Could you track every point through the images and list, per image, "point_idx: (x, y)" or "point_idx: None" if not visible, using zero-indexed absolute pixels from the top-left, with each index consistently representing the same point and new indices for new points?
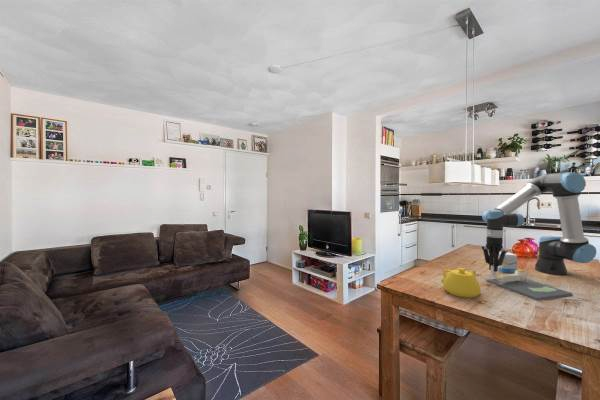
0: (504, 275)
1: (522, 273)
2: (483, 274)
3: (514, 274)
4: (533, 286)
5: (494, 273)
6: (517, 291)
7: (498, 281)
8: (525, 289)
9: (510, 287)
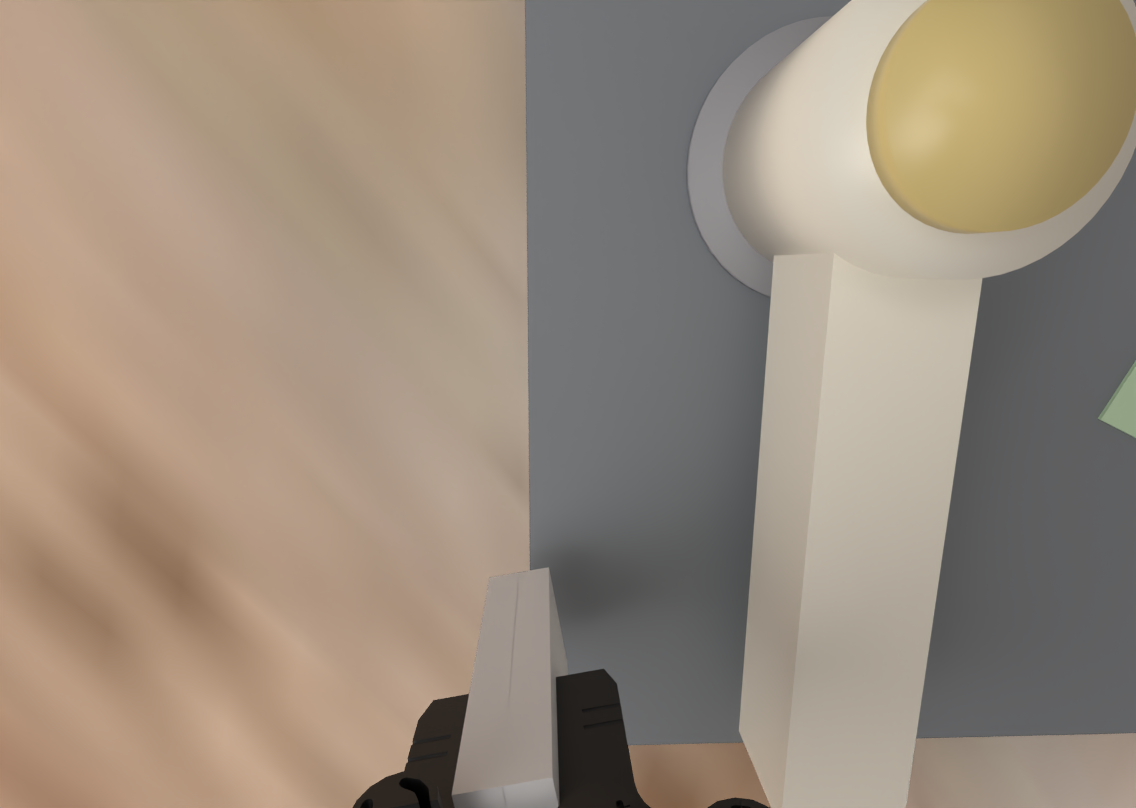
0: (849, 709)
1: (1075, 216)
2: (144, 408)
3: (890, 376)
4: (1113, 224)
5: (560, 670)
6: (1098, 728)
7: (680, 629)
8: (1129, 546)
9: (965, 700)
